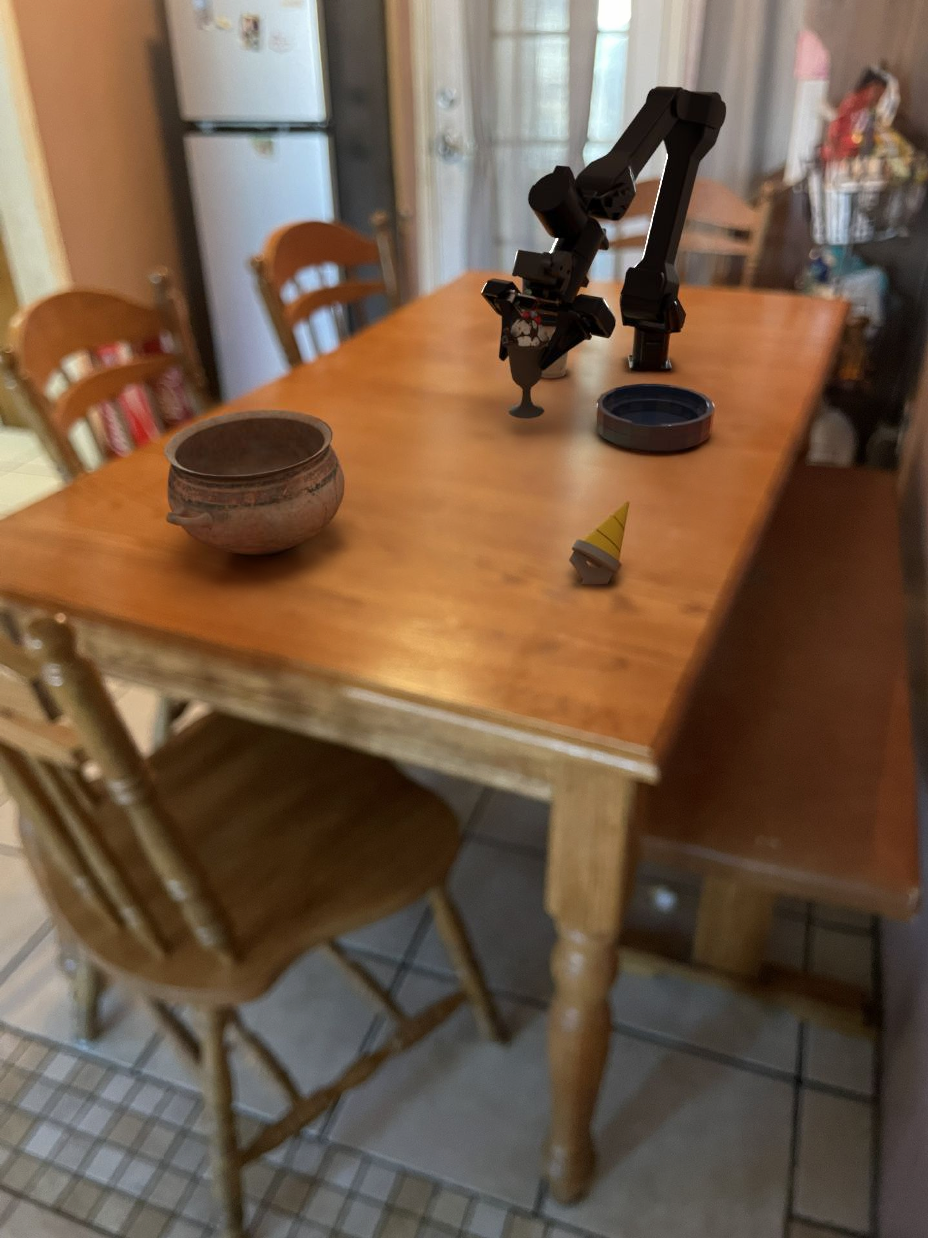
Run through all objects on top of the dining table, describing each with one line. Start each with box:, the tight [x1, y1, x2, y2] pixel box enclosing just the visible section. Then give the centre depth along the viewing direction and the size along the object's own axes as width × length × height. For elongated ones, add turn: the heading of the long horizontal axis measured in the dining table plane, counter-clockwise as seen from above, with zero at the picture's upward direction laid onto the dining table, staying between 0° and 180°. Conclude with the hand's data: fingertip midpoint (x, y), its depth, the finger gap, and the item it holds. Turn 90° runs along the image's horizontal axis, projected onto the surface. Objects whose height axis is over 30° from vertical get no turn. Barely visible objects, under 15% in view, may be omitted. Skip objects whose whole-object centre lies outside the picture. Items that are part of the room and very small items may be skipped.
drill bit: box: [568, 500, 630, 585], centre depth 94 cm, size 5×5×10 cm
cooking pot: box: [164, 409, 345, 557], centre depth 100 cm, size 25×19×12 cm
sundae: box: [502, 299, 551, 419], centre depth 122 cm, size 7×7×15 cm
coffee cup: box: [531, 312, 569, 379], centre depth 144 cm, size 7×7×10 cm
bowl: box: [594, 383, 716, 454], centre depth 125 cm, size 16×16×4 cm
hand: (520, 364), depth 121 cm, fingers closed on sundae, 6 cm apart
